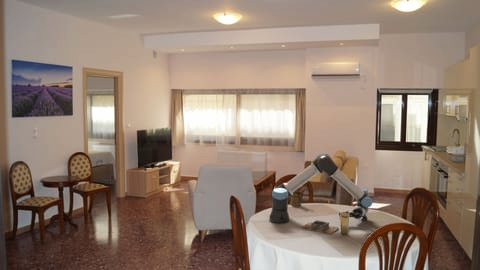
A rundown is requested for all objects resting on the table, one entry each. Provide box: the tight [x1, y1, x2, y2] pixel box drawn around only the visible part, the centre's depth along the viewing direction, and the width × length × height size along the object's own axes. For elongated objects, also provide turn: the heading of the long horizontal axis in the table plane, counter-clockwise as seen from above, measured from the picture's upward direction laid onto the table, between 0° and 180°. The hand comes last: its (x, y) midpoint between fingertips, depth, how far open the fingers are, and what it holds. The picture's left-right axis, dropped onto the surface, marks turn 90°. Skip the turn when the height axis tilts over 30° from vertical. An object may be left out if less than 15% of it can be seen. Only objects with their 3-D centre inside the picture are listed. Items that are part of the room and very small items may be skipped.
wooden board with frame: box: [301, 219, 340, 235], centre depth 277 cm, size 22×14×4 cm, turn 57°
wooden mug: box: [289, 185, 306, 207], centre depth 340 cm, size 9×14×18 cm, turn 55°
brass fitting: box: [339, 212, 350, 237], centre depth 265 cm, size 6×6×14 cm
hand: (349, 219), depth 273 cm, fingers open, 13 cm apart
